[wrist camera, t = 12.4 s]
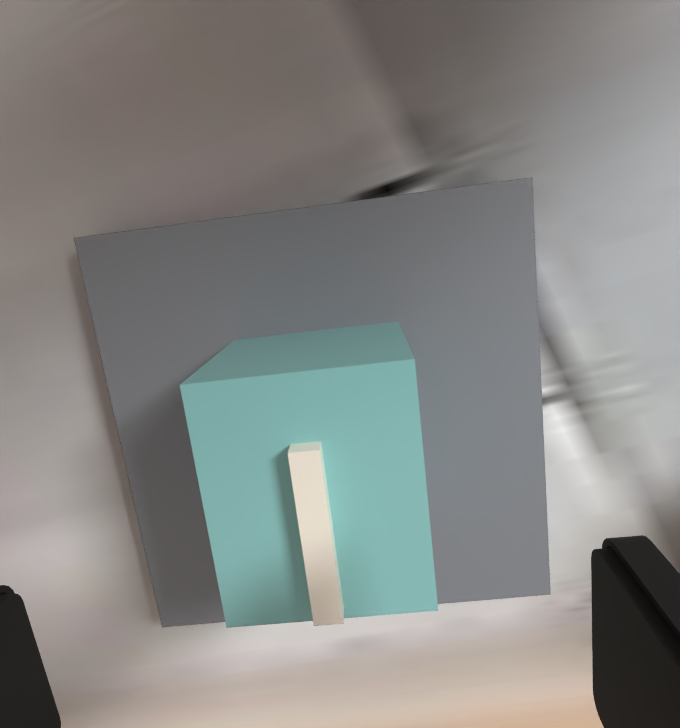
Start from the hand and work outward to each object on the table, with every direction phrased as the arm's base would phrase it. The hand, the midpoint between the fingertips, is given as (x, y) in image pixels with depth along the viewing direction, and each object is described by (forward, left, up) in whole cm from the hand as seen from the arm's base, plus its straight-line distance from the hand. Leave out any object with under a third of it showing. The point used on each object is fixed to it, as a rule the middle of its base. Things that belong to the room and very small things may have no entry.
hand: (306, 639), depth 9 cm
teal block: (+1, 0, -12) cm, 12 cm away
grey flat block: (+1, 0, -14) cm, 13 cm away
